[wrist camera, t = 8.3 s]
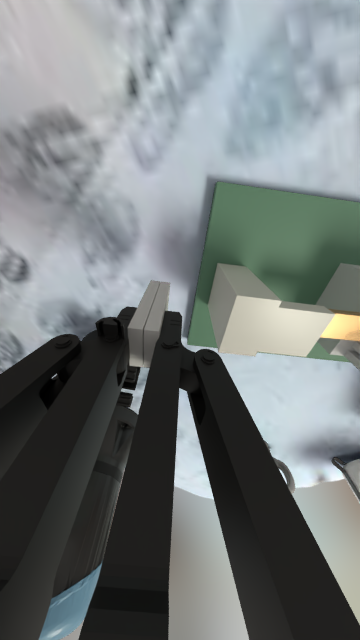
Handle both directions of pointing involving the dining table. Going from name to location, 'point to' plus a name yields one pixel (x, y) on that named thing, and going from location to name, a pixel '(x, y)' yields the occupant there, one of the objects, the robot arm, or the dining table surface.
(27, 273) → the dining table surface
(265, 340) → the cream white stepped block
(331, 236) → the green white block assembly
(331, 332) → the golden metal bar
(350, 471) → the coffee press
